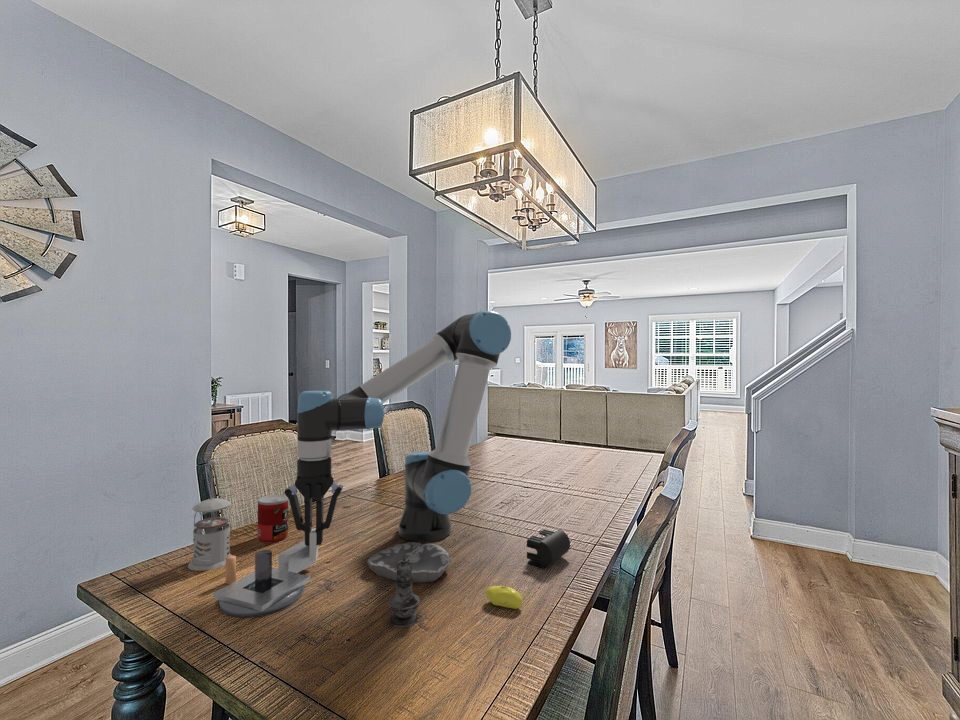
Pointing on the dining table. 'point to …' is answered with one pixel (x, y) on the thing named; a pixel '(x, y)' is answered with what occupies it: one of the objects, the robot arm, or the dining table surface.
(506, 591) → the lemon
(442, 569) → the brain slice
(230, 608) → the post base
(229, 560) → the dowel
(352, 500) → the dining table surface
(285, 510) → the canned food
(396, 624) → the dark grey chess piece
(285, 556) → the grey plastic holder
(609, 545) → the dining table surface
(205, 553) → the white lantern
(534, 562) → the end cap
